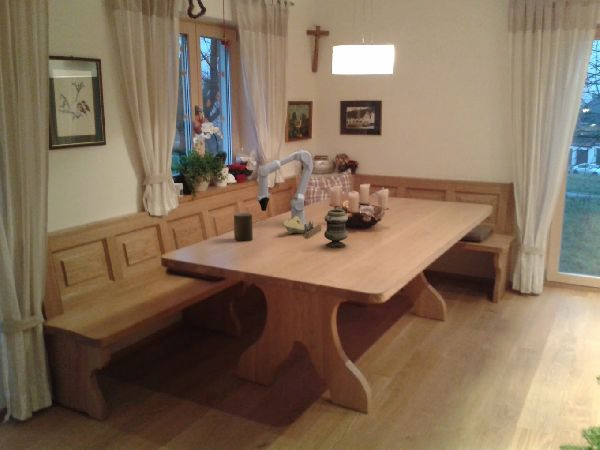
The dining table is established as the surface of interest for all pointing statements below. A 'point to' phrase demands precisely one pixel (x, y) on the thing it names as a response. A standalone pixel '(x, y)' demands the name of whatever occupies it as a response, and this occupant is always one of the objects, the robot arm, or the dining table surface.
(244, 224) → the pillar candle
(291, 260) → the dining table surface
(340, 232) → the apothecary jar
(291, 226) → the cheese
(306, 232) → the brown piece
